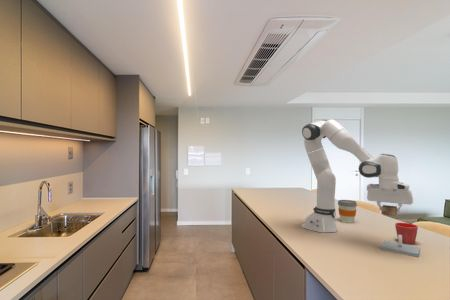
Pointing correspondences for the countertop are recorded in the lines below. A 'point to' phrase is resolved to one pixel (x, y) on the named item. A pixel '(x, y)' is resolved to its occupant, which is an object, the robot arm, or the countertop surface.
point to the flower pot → (407, 232)
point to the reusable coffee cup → (347, 210)
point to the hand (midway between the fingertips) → (389, 211)
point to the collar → (388, 210)
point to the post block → (400, 247)
